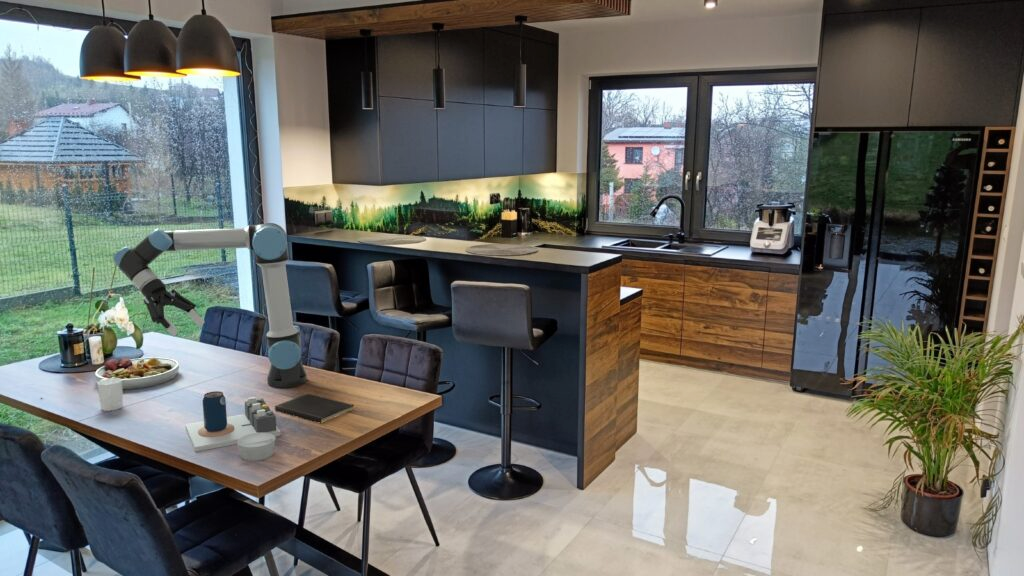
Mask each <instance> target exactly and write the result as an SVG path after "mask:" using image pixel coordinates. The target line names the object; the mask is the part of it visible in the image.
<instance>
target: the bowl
mask: <svg viewBox="0 0 1024 576" xmlns="http://www.w3.org/2000/svg"><path fill="white" fill-rule="evenodd" d="M179 368H180V364H179V362H178V361H177V360H175V359H172V358H167V357H139V358H133V359H130V358H128V357H122V358H120V359H116V358H110V359H108V360H106V361H105V362H104V365H103V366H101V367H99V368H98V369H96V371H95V374H94V376H95V379H96V381H97V382H98V381H100V380H103V379H108V378H120V379H122V390H133V389H140V388H141V389H142V388H148V387H152V386H157V385H161V384H163V383H165V382H168V381H170V380H171V379H173V378H174V377H175V376H176V375H177V374H178V371H179Z"/></svg>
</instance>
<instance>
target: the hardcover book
mask: <svg viewBox="0 0 1024 576" xmlns="http://www.w3.org/2000/svg"><path fill="white" fill-rule="evenodd" d="M353 407H354V404H351V403H347V402H342V401H339V400H335V399H331V398H326V397H322V396H318V395H315V394H311V393H307V394H303V395H301V396H299V397H296V398H292V399H290V400H287V401H285V402H282V403H279V404H276V405H275V407H274V410H275V411H276V412H278V411H279V413H282V412H283V413H282V414H286V413H287V414H286V415H289V414H290V415H289V416H293V415H294V416H293V417H296V416H298V417H297V418H300V417H301V419H303V418H304V419H303V420H307V419H308V420H307V421H310V420H312V421H311V422H314V421H316V422H315V423H317V422H320V423H319V424H322V423H324V422H323V421H325V420H327V421H329V420H328V419H330V418H332V419H334V418H336V417H335V416H337V415H339V416H341V415H340V414H342V413H344V412H346V413H348V412H347V411H349V410H351V409H352V410H353ZM352 410H351V411H352ZM349 412H350V411H349ZM344 414H345V413H344ZM342 415H343V414H342ZM333 417H334V418H333ZM337 417H338V416H337ZM330 420H331V419H330ZM321 422H322V423H321ZM325 422H326V421H325Z"/></svg>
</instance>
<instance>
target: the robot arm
mask: <svg viewBox="0 0 1024 576" xmlns="http://www.w3.org/2000/svg"><path fill="white" fill-rule="evenodd" d="M287 237H288V236H287V232H286V231H285V229H284V228H283V227H282V226H281V225H279V224H277V223H273V222H272V223H271V222H267V223H262V224H261V223H260V224H250V225H249V224H248V225H247V226H246V227H238V228H235V227H234V228H214V229H213V228H211V229H186V230H185V229H184V230H183V229H181V230H164V229H161V228H155V229H154V230H153V231H151V232H150V233H149V234H148V235H147V236H146V237H145V238H143V239H142V240H141V241H140V242H139V243H138V244H136V246H134V247H131V246H124V247H122V248H120V249H118V250H117V251H116V252H115V253H114V255H113V256H112V259H113V262H114V264H115V265H116V266H117V267H118V269H119V271H121V272H122V273H123V274H124V275H125V276H126V277H127V278H128V279H129V281H130V282H131V283H132V284H133V285H135V287H136V288H137V289H138V290H139V291H140V292H141V294H142V295H143V296H144V298H145V299H144V300H143V304H145V306H146V308H147V311H148V312H149V315H150V318H151V321H152V323H155V324H157V325H159V324H161V325H162V327H163V328H164V329H165V330H167V331H168V332H169V333H170V335H172V336H173V337H176V336H177V334H178V333H179V332H180V330H179V328H177V327H176V326H175V325H174V323H173V322H172V321H171V320H170V318H169V317H168V316H165V307H167V306H170V307H172V306H173V307H174V308H177V309H179V310H182V311H184V312H186V313H187V315H188V316H189V317H190V319H192V321H193V322H194V323H195V324H196V326H197V327H199V328H201V327H202V326H203V325H204V324H205V323H206V321H205V320H204V319H203V318H202V317H201V316H200V314H199V313H198V312H197V310H195V308H196V307H197V304H196V303H194V302H192V301H191V300H189V299H188V298H186V297H184V296H183V295H182V294H180V293H178V292H177V291H176V290H175V289H171V291H170V292H169V291H168V290H167V289H166V287H167V285H166V284H165V283H164V282H163V281H162V279H161V278H159V277H158V275H157V274H156V273H155V271H153V270H152V268H151V267H149V265H150V264H152V263H153V261H155V260H156V259H157V258H159V256H161V255H162V254H163V253H165V252H177V251H199V250H201V251H202V250H225V249H226V250H227V249H248V250H249V251H254V255H255V256H254V257H255V263H256V265H258V266H259V267H260V268H261V276H262V280H263V281H262V283H263V289H264V291H263V292H264V297H265V303H266V310H267V312H266V313H267V317H268V326H269V331H267V333H266V340H267V342H266V343H267V349H268V352H267V357H268V360H269V363H270V367H269V371H268V374H267V378H266V379H267V385H268V386H270V387H273V388H283V389H284V388H292V387H297V386H300V385H303V384H305V383H306V382H307V381H308V375H307V373H306V370H305V368H304V365H303V361H302V346H301V345H302V342H301V340H302V339H301V333H302V332H301V328H300V326H299V325H294V321H293V320H294V319H293V311H292V306H291V296H290V289H289V283H288V274H287V266H286V265H287V263H288V262H289V261H290V259H289V257H290V256H289V250H288V249H289V248H288V244H287V243H288V238H287Z"/></svg>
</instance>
